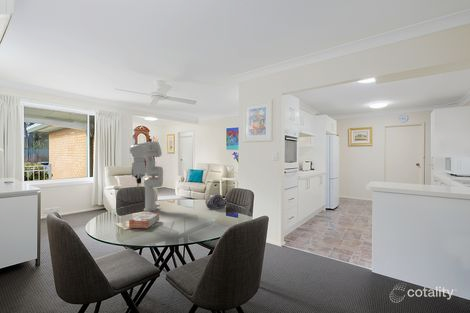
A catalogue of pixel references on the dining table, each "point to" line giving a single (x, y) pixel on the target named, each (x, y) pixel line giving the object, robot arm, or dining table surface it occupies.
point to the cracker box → (143, 220)
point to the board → (123, 225)
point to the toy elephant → (215, 201)
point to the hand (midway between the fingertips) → (139, 183)
